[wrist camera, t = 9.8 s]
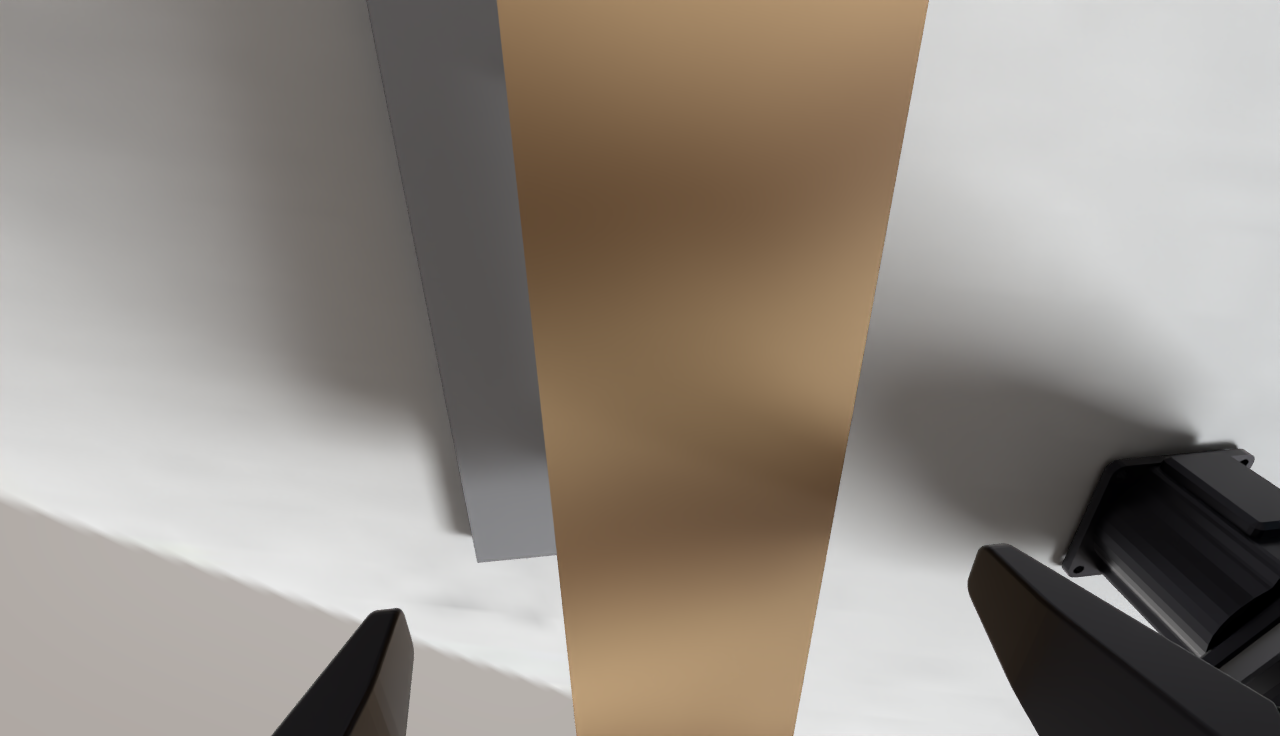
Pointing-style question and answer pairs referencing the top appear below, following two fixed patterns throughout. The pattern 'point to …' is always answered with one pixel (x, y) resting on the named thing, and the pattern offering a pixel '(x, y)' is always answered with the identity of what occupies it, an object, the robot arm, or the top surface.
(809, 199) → the wooden block
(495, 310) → the peg stand
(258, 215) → the top surface
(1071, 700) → the robot arm
